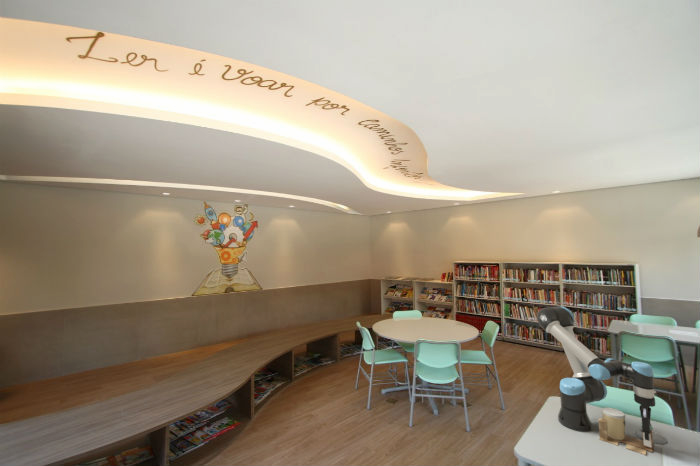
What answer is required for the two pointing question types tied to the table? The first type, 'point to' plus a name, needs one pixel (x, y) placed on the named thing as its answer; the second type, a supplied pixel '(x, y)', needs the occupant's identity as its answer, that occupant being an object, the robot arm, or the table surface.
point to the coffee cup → (614, 422)
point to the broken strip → (604, 437)
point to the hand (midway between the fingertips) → (647, 444)
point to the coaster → (656, 437)
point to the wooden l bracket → (637, 441)
